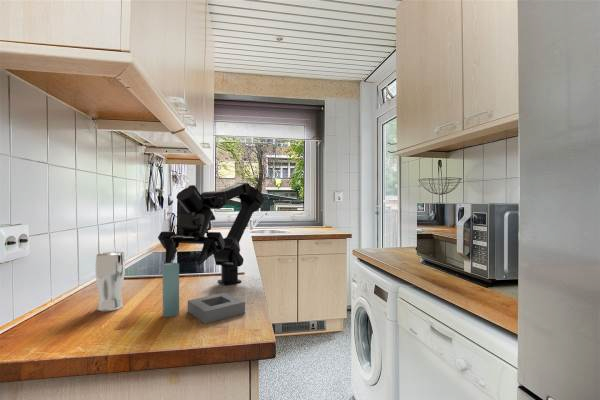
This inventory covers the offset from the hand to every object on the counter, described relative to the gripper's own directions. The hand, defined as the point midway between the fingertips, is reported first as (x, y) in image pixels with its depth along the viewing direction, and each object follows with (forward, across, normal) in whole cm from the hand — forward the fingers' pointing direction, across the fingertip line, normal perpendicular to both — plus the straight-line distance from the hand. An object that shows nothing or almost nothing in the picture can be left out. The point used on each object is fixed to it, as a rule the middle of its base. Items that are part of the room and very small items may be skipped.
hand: (182, 264), depth 89 cm
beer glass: (+11, -19, +6) cm, 23 cm away
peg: (+12, 0, +4) cm, 13 cm away
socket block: (+11, +11, +6) cm, 16 cm away
